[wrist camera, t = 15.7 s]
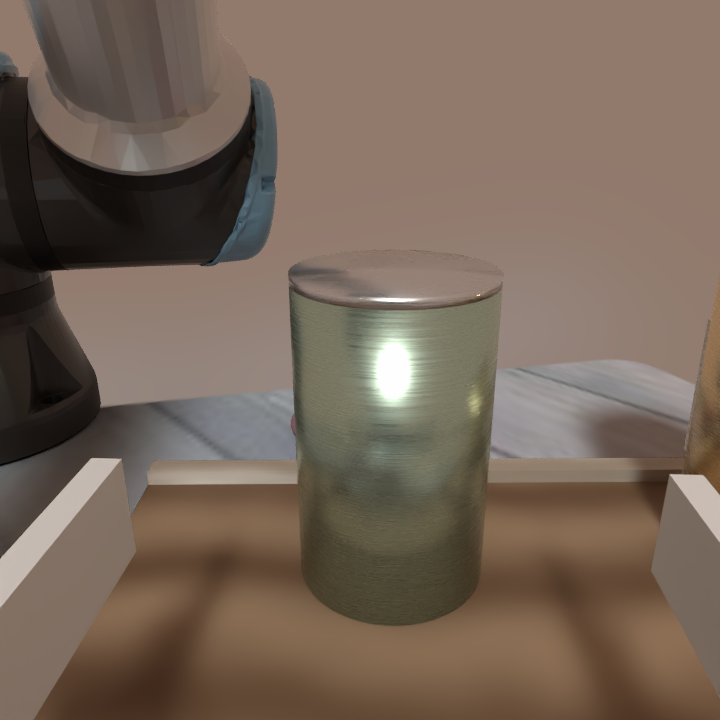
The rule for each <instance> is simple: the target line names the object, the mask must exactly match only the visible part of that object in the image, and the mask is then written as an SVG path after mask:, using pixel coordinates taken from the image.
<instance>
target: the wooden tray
mask: <svg viewBox="0 0 720 720" xmlns="http://www.w3.org/2000/svg"><path fill="white" fill-rule="evenodd" d="M684 458H685V457H684ZM684 458H520V459H489V471H488V484H487V497H486V510H485V523H484V536H483V550H482V563H481V575H480V579H479V583H478V585H477V588H476V590H475V591H474V593H473V594H472V595H471V597H470V598H469V599H468V600H467V601H466V602H465V603H464V604H463V605H461V606H460V607H459V608H457V609H456V610H454V611H452V612H451V613H449V614H447V615H445V616H443V617H440V618H438V619H435V620H431V621H428V622H424V623H419V624H413V625H403V626H384V625H376V624H369V623H365V622H360V621H357V620H354V619H351V618H348V617H345V616H343V615H341V614H339V613H336V612H335V611H333V610H331V609H330V608H328V607H326V606H325V605H324V604H323V603H321V602H320V601H319V600H318V599H317V598H316V597H315V596H314V595H313V594H312V593H311V591H310V590H309V588H308V587H307V585H306V583H305V581H304V579H303V575H302V571H301V552H300V529H299V506H298V483H297V460H191V461H153V463H152V465H151V466H150V468H149V470H148V471H147V478H148V486H147V488H146V490H145V492H144V494H143V495H142V497H141V499H140V501H139V502H138V504H137V506H136V508H135V510H134V511H133V513H132V515H131V522H132V528H133V534H134V541H135V547H136V553H135V554H134V556H133V558H132V559H131V561H130V563H129V564H128V566H127V567H126V569H125V571H124V572H123V574H122V576H121V577H120V579H119V581H118V582H117V584H116V585H115V587H114V589H113V590H112V592H111V594H110V595H109V597H108V599H107V600H106V602H105V603H104V605H103V607H102V608H101V610H100V612H99V613H98V615H97V617H96V618H95V620H94V622H93V623H92V625H91V626H90V628H89V630H88V631H87V633H86V635H85V636H84V638H83V640H82V641H81V643H80V644H79V646H78V648H77V649H76V651H75V653H74V654H73V656H72V658H71V659H70V661H69V663H68V664H67V666H66V667H65V669H64V671H63V672H62V674H61V676H60V677H59V679H58V681H57V682H56V684H55V685H54V687H53V689H52V690H51V692H50V694H49V695H48V697H47V699H46V700H45V702H44V703H43V705H42V707H41V708H40V710H39V712H38V713H37V715H36V717H35V718H34V720H720V697H719V695H718V694H717V692H716V690H715V688H714V686H713V684H712V682H711V681H710V679H709V677H708V675H707V673H706V671H705V669H704V668H703V666H702V664H701V662H700V660H699V658H698V657H697V655H696V653H695V651H694V649H693V647H692V645H691V644H690V642H689V640H688V638H687V636H686V634H685V632H684V631H683V629H682V627H681V625H680V623H679V621H678V620H677V618H676V616H675V614H674V612H673V610H672V608H671V607H670V605H669V603H668V601H667V599H666V597H665V595H664V594H663V592H662V590H661V588H660V586H659V584H658V583H657V581H656V579H655V577H654V575H653V573H652V571H651V568H652V563H653V557H654V552H655V547H656V542H657V537H658V531H659V526H660V521H661V516H662V511H663V505H664V500H665V495H666V490H667V485H668V479H669V474H682V469H683V464H684Z"/></svg>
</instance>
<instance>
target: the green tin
mask: <svg viewBox="0 0 720 720" xmlns="http://www.w3.org/2000/svg"><path fill="white" fill-rule="evenodd" d="M288 275H289V298H290V318H291V319H290V321H291V344H292V366H293V390H294V414H295V437H296V460H297V483H298V506H299V529H300V552H301V571H302V575H303V579H304V581H305V583H306V585H307V587H308V588H309V590H310V591H311V593H312V594H313V595H314V596H315V597H316V598H317V599H318V600H319V601H320V602H321V603H323V604H324V605H325V606H326V607H328V608H330V609H331V610H333V611H335V612H336V613H339V614H341V615H343V616H345V617H348V618H351V619H354V620H357V621H360V622H365V623H369V624H376V625H384V626H403V625H413V624H419V623H424V622H428V621H431V620H435V619H438V618H440V617H443V616H445V615H447V614H449V613H451V612H452V611H454V610H456V609H457V608H459V607H460V606H461V605H463V604H464V603H465V602H466V601H467V600H468V599H469V598H470V597H471V595H472V594H473V593H474V591H475V590H476V588H477V585H478V583H479V579H480V575H481V563H482V550H483V536H484V523H485V510H486V497H487V484H488V471H489V457H490V444H491V431H492V418H493V405H494V391H495V378H496V364H497V351H498V339H499V325H500V312H501V299H502V298H501V297H502V286H503V272H502V270H501V269H500V268H498V267H497V266H495V265H493V264H491V263H489V262H486V261H483V260H480V259H476V258H472V257H468V256H462V255H457V254H450V253H441V252H432V251H416V250H366V251H352V252H343V253H336V254H329V255H323V256H319V257H314V258H311V259H307V260H304V261H302V262H299V263H297V264H295V265H294V266H292V267H291V268H290V270H289V273H288Z"/></svg>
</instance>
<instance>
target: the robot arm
mask: <svg viewBox="0 0 720 720" xmlns="http://www.w3.org/2000/svg"><path fill="white" fill-rule="evenodd" d="M22 2H23V5H24V7H25V10H26V12H27V15H28V18H29V20H30V23H31V25H32V28H33V30H34V33H35V35H36V38H37V41H38V44H39V46H40V49H41V50H40V51H39V52H38V54H37V55H36V57H35V59H34V61H33V63H32V66H31V70H30V73H29V77H19V76H18V74H19V73H18V68H17V67H16V66H15V65H14V64H13V62H12V60H11V58H10V57H9V56H8V55H7V54H6V53H4V52H1V51H0V464H3V463H7V462H10V461H13V460H17V459H20V458H23V457H26V456H29V455H31V454H34V453H37V452H39V451H42V450H44V449H47V448H49V447H51V446H53V445H55V444H57V443H59V442H61V441H63V440H65V439H67V438H69V437H70V436H72V435H74V434H75V433H77V432H78V431H80V430H81V429H82V428H84V427H85V426H86V425H87V424H88V423H89V422H90V421H92V419H93V418H94V417H95V416H96V414H97V413H98V411H99V408H100V404H101V402H100V396H99V390H98V383H97V378H96V375H95V372H94V369H93V368H92V366H91V364H90V362H89V361H88V359H87V357H86V355H85V354H84V352H83V350H82V348H81V346H80V345H79V343H78V341H77V339H76V337H75V336H74V334H73V332H72V330H71V329H70V327H69V325H68V323H67V321H66V320H65V318H64V316H63V315H62V313H61V311H60V309H59V307H58V304H57V302H56V297H55V292H54V287H53V281H52V276H51V271H54V270H74V269H96V268H117V267H138V266H139V267H140V266H165V265H166V266H168V265H201V266H213V265H216V264H218V263H219V262H228V261H229V262H230V261H240V260H247V259H249V258H252V257H254V256H255V255H257V254H258V253H259V252H260V251H261V250H262V248H263V247H264V245H265V243H266V241H267V239H268V236H269V233H270V229H271V225H272V219H273V213H274V205H275V193H276V191H275V183H274V180H275V178H276V170H277V126H276V115H275V108H274V101H273V98H272V94H271V91H270V88H269V87H268V86H267V84H266V83H265V82H263V81H262V80H260V79H256V78H252V77H251V76H249V74H248V72H247V69H246V66H245V64H244V62H243V59H242V57H241V56H240V54H239V53H238V51H237V50H236V48H235V47H234V46H233V45H232V44H231V43H230V42H229V41H228V40H227V39H226V38H225V37H224V36H223V35H222V34H220V33H219V25H218V12H217V0H22ZM135 553H136V547H135V541H134V534H133V528H132V522H131V515H130V509H129V502H128V496H127V490H126V483H125V477H124V471H123V464H122V459H108V458H91V459H90V460H89V461H88V462H87V463H86V465H85V466H84V467H83V468H82V469H81V470H80V471H79V472H78V473H77V474H76V476H75V477H74V478H73V479H72V480H71V481H70V482H69V483H68V484H67V486H66V487H65V488H64V489H63V490H62V491H61V492H60V493H59V494H58V495H57V497H56V498H55V499H54V500H53V501H52V502H51V503H50V504H49V505H48V507H47V508H46V509H45V510H44V511H43V512H42V513H41V514H40V515H39V516H38V518H37V519H36V520H35V521H34V522H33V523H32V524H31V525H30V526H29V528H28V529H27V530H26V531H25V532H24V533H23V534H22V535H21V536H20V537H19V539H18V540H17V541H16V542H15V543H14V544H13V545H12V546H11V547H10V549H9V550H8V551H7V552H6V553H5V554H4V555H3V556H2V557H1V558H0V720H34V718H35V717H36V715H37V713H38V712H39V710H40V708H41V707H42V705H43V703H44V702H45V700H46V699H47V697H48V695H49V694H50V692H51V690H52V689H53V687H54V685H55V684H56V682H57V681H58V679H59V677H60V676H61V674H62V672H63V671H64V669H65V667H66V666H67V664H68V663H69V661H70V659H71V658H72V656H73V654H74V653H75V651H76V649H77V648H78V646H79V644H80V643H81V641H82V640H83V638H84V636H85V635H86V633H87V631H88V630H89V628H90V626H91V625H92V623H93V622H94V620H95V618H96V617H97V615H98V613H99V612H100V610H101V608H102V607H103V605H104V603H105V602H106V600H107V599H108V597H109V595H110V594H111V592H112V590H113V589H114V587H115V585H116V584H117V582H118V581H119V579H120V577H121V576H122V574H123V572H124V571H125V569H126V567H127V566H128V564H129V563H130V561H131V559H132V558H133V556H134V554H135ZM651 571H652V573H653V575H654V577H655V579H656V581H657V583H658V584H659V586H660V588H661V590H662V592H663V594H664V595H665V597H666V599H667V601H668V603H669V605H670V607H671V608H672V610H673V612H674V614H675V616H676V618H677V620H678V621H679V623H680V625H681V627H682V629H683V631H684V632H685V634H686V636H687V638H688V640H689V642H690V644H691V645H692V647H693V649H694V651H695V653H696V655H697V657H698V658H699V660H700V662H701V664H702V666H703V668H704V669H705V671H706V673H707V675H708V677H709V679H710V681H711V682H712V684H713V686H714V688H715V690H716V692H717V694H718V695H719V697H720V495H719V494H718V492H717V491H716V490H715V489H714V487H713V486H712V485H711V484H710V483H709V481H708V480H707V479H706V478H705V477H704V475H681V474H669V479H668V485H667V490H666V495H665V500H664V505H663V511H662V516H661V521H660V526H659V531H658V537H657V542H656V547H655V552H654V557H653V563H652V568H651Z"/></svg>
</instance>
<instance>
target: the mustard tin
mask: <svg viewBox="0 0 720 720" xmlns="http://www.w3.org/2000/svg"><path fill="white" fill-rule="evenodd" d="M684 450H685V451H686V453H685V458H684V464H683V469H682V474H681V475H704V477H705V478H706V479H707V480H708V481H709V483H710V484H711V485H712V486H713V487H714V489H715V490H716V491H717V492H718V494H719V495H720V276H719V281H718V286H717V292H716V297H715V302H714V307H713V312H712V318H711V319H708V324H707V329H706V335H705V339H704V345H703V350H702V355H701V361H700V366H699V371H698V376H697V381H696V387H695V392H694V397H693V402H692V408H691V413H690V418H689V424H688V429H687V434H686V439H685V445H684Z"/></svg>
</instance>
